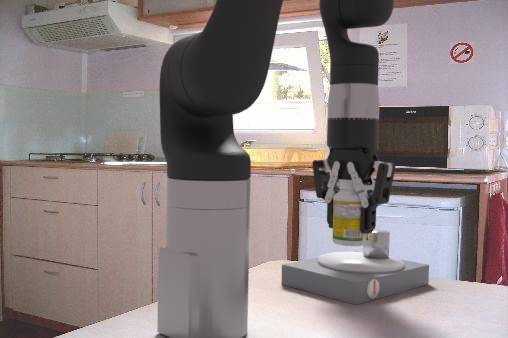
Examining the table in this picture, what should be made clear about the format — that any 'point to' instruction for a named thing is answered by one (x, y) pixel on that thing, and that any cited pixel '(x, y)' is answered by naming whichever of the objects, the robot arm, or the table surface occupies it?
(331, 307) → the table surface
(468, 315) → the table surface
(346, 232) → the supplement bottle
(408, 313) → the table surface
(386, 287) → the scale
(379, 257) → the cylinder
